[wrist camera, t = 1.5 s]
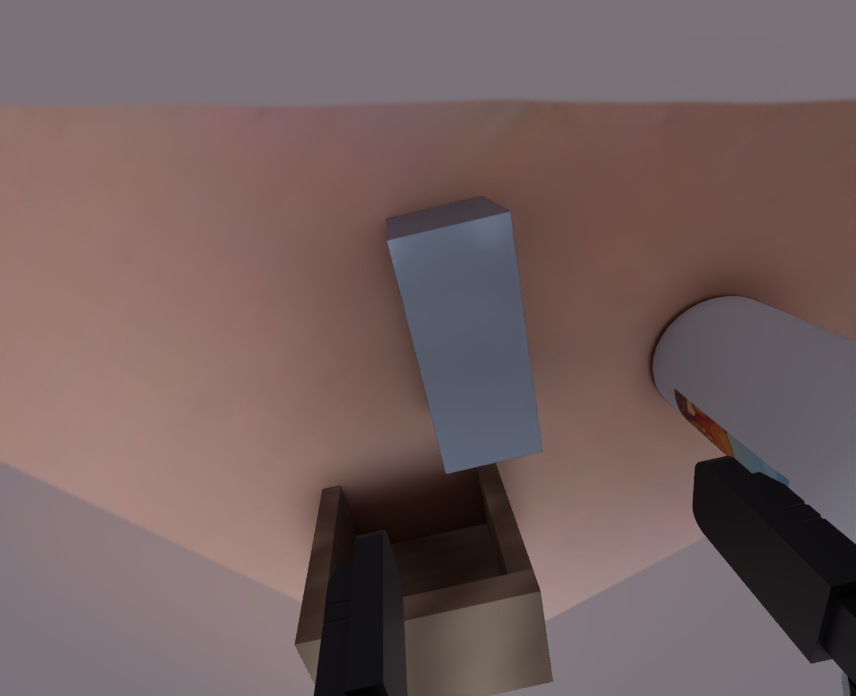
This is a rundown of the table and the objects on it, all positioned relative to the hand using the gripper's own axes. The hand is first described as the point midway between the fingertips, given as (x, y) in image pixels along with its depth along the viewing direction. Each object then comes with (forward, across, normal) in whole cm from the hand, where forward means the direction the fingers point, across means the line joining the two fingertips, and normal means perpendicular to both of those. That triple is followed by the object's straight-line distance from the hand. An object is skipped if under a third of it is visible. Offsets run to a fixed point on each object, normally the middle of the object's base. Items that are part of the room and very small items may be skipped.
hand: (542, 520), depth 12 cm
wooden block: (+15, +5, +14) cm, 21 cm away
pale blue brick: (+16, 0, 0) cm, 16 cm away
